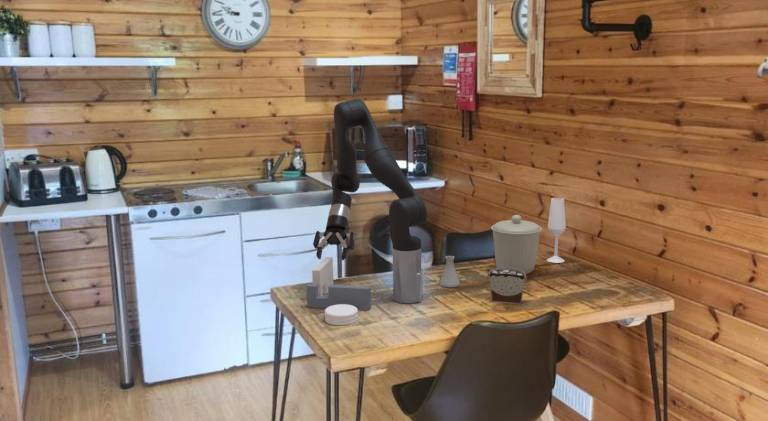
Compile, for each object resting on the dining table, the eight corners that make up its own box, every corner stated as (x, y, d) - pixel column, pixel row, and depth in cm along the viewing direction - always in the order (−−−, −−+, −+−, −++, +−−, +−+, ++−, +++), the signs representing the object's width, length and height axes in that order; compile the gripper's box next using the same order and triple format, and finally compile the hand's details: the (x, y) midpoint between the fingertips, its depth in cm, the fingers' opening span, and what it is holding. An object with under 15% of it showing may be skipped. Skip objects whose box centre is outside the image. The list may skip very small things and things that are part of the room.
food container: (528, 298, 227) (529, 268, 225) (525, 304, 221) (526, 274, 219) (490, 295, 231) (491, 265, 229) (487, 301, 225) (487, 271, 223)
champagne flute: (565, 258, 272) (567, 197, 267) (563, 263, 266) (565, 200, 261) (548, 257, 274) (549, 196, 269) (545, 261, 268) (547, 200, 263)
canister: (503, 262, 269) (504, 208, 265) (548, 269, 258) (550, 213, 254) (481, 273, 254) (482, 216, 250) (527, 281, 244) (529, 222, 240)
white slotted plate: (326, 284, 245) (325, 257, 243) (333, 285, 244) (332, 257, 242) (313, 299, 229) (312, 270, 227) (320, 300, 229) (319, 270, 227)
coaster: (360, 324, 207) (360, 313, 207) (327, 327, 205) (326, 316, 205) (355, 313, 217) (354, 302, 216) (322, 316, 215) (322, 305, 214)
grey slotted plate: (371, 307, 221) (370, 286, 219) (369, 310, 218) (368, 288, 217) (309, 304, 225) (308, 283, 223) (307, 307, 222) (306, 286, 221)
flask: (436, 287, 240) (436, 258, 238) (442, 280, 247) (442, 253, 245) (456, 289, 238) (457, 260, 236) (462, 283, 244) (462, 255, 242)
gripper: (316, 213, 252) (308, 252, 243) (355, 214, 249) (348, 254, 240) (321, 224, 258) (313, 263, 249) (359, 225, 255) (352, 264, 246)
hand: (330, 258), depth 245 cm, fingers open, 8 cm apart
